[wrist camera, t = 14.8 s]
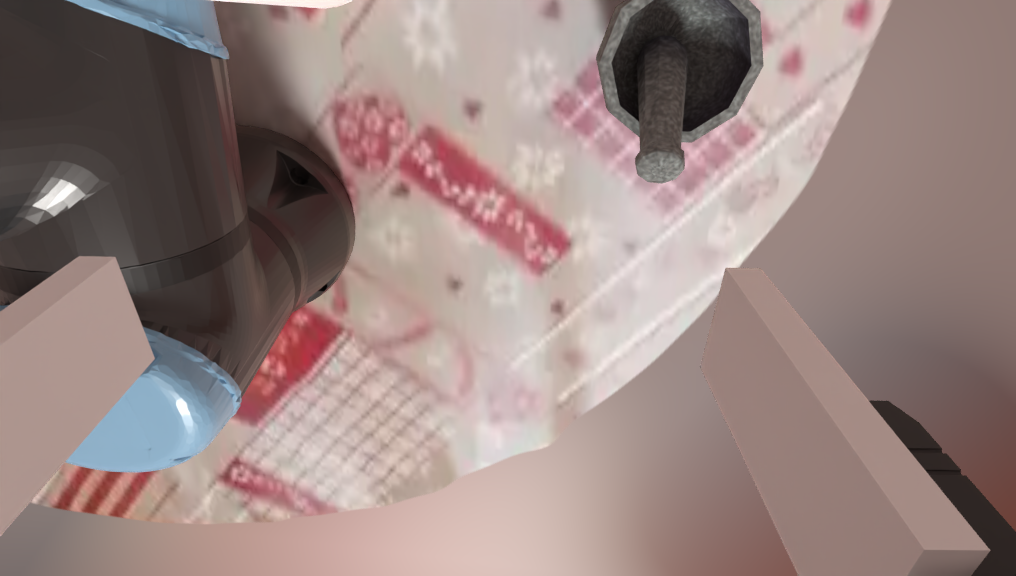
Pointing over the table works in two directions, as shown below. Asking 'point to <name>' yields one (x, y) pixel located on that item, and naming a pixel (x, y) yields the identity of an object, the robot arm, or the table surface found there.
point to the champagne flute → (296, 2)
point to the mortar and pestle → (677, 73)
